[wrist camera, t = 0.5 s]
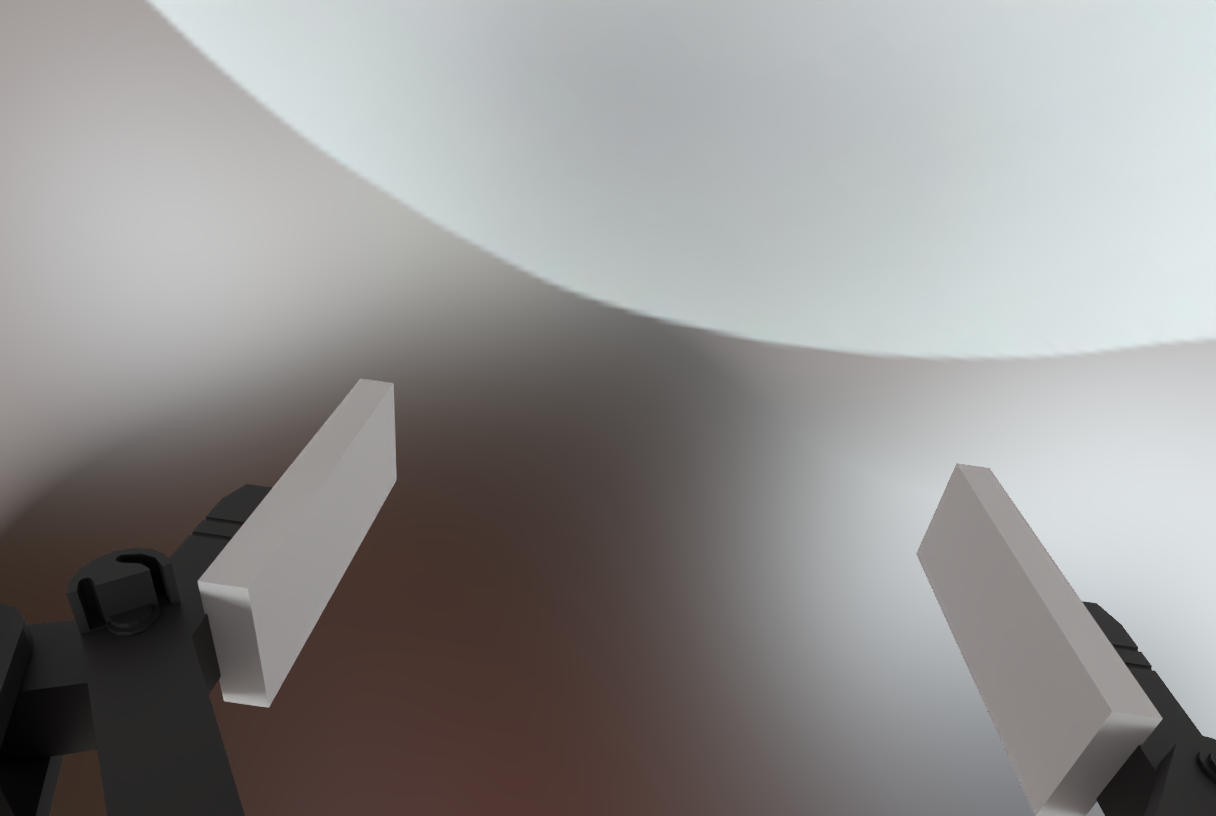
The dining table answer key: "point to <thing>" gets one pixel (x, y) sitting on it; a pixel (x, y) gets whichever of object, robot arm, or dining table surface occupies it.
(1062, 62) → the dining table surface
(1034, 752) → the robot arm
